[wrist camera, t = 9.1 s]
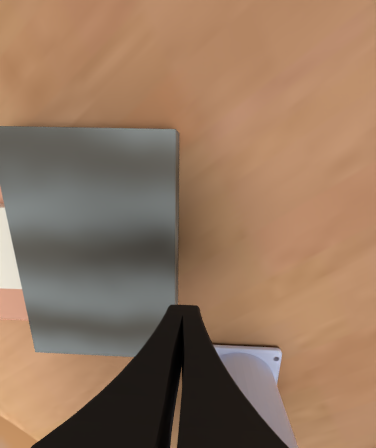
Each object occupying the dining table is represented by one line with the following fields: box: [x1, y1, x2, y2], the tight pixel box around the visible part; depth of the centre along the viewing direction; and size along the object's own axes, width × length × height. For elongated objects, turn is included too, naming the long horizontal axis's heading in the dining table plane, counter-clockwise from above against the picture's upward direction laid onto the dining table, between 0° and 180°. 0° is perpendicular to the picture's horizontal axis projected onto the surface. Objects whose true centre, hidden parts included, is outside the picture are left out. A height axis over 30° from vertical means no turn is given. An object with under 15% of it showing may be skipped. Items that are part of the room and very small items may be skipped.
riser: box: [0, 126, 179, 357], centre depth 18 cm, size 18×12×3 cm, turn 179°
